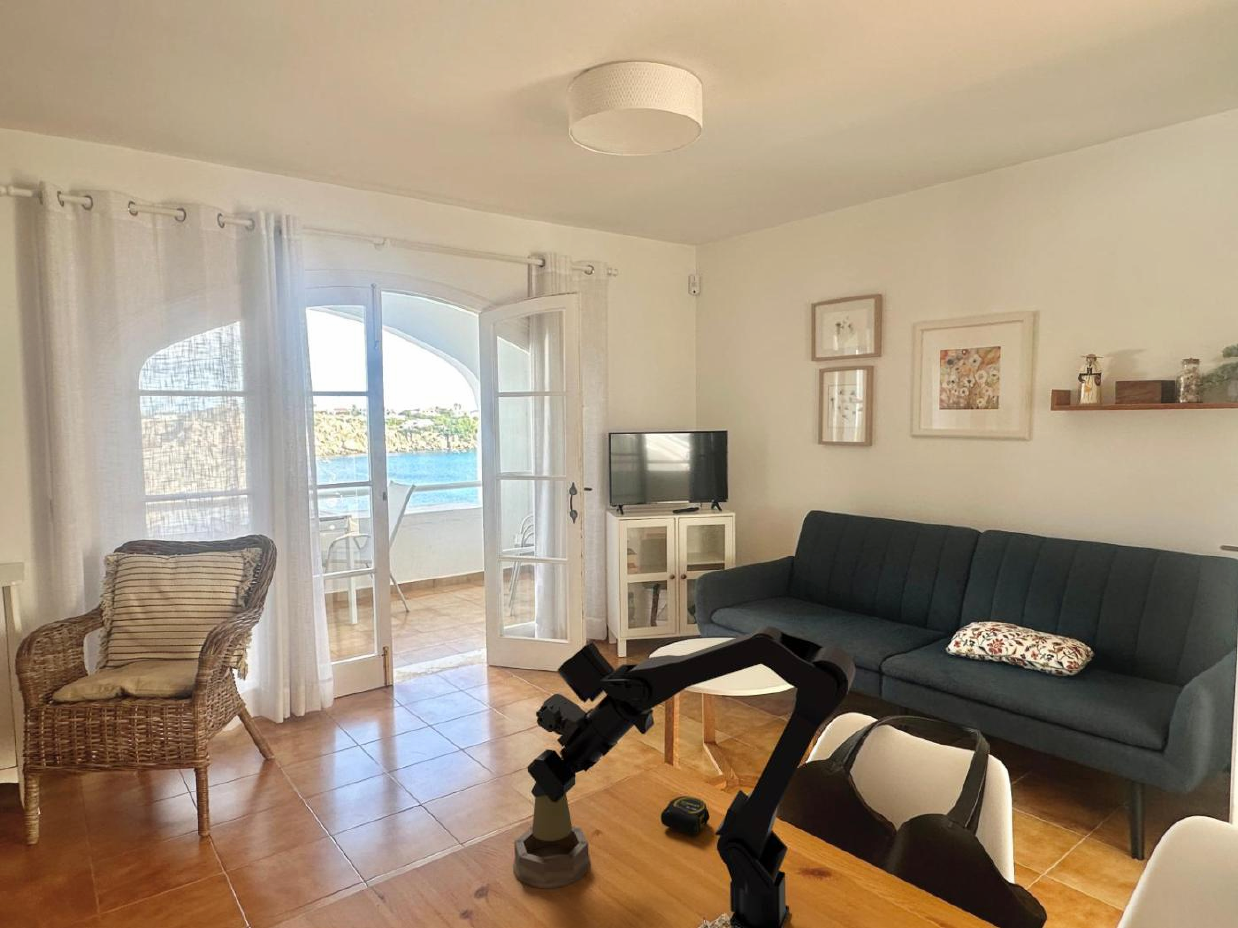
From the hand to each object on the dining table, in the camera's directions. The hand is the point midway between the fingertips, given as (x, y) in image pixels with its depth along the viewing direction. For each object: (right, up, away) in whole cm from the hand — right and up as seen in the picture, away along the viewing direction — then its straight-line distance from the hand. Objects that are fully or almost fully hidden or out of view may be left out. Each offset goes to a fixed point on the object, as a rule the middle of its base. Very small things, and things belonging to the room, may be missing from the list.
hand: (542, 785), depth 115 cm
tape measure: (+23, -11, +9) cm, 27 cm away
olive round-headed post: (+1, -7, 0) cm, 7 cm away
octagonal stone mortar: (+1, -12, 0) cm, 12 cm away
